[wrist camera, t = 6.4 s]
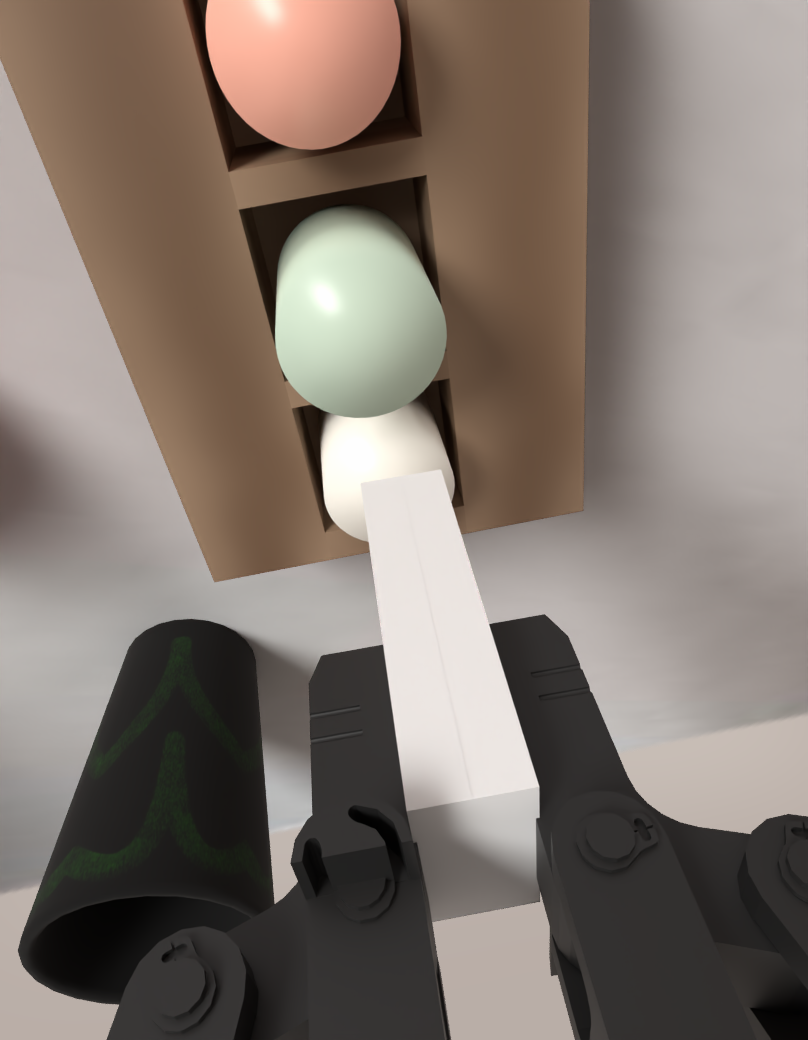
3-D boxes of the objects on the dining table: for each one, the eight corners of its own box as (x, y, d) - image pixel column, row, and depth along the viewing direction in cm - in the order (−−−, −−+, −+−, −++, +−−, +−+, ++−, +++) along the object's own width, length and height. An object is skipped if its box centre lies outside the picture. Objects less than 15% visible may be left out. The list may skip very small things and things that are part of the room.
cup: (313, 671, 33) (324, 948, 24) (186, 741, 35) (148, 1025, 26) (198, 571, 29) (155, 860, 20) (60, 657, 31) (-42, 960, 21)
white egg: (331, 478, 24) (338, 554, 21) (307, 380, 22) (310, 448, 19) (437, 457, 24) (460, 530, 21) (424, 358, 22) (447, 422, 19)
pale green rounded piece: (295, 357, 19) (297, 431, 16) (260, 218, 17) (254, 272, 14) (427, 332, 20) (454, 401, 16) (409, 191, 17) (436, 238, 14)
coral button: (245, 131, 18) (237, 164, 15) (200, -54, 16) (178, -63, 12) (389, 105, 18) (412, 132, 15) (364, -84, 16) (384, -100, 12)
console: (225, 493, 27) (214, 582, 23) (11, -100, 17) (-75, -125, 13) (539, 433, 27) (583, 510, 23) (520, -190, 17) (592, -242, 13)
